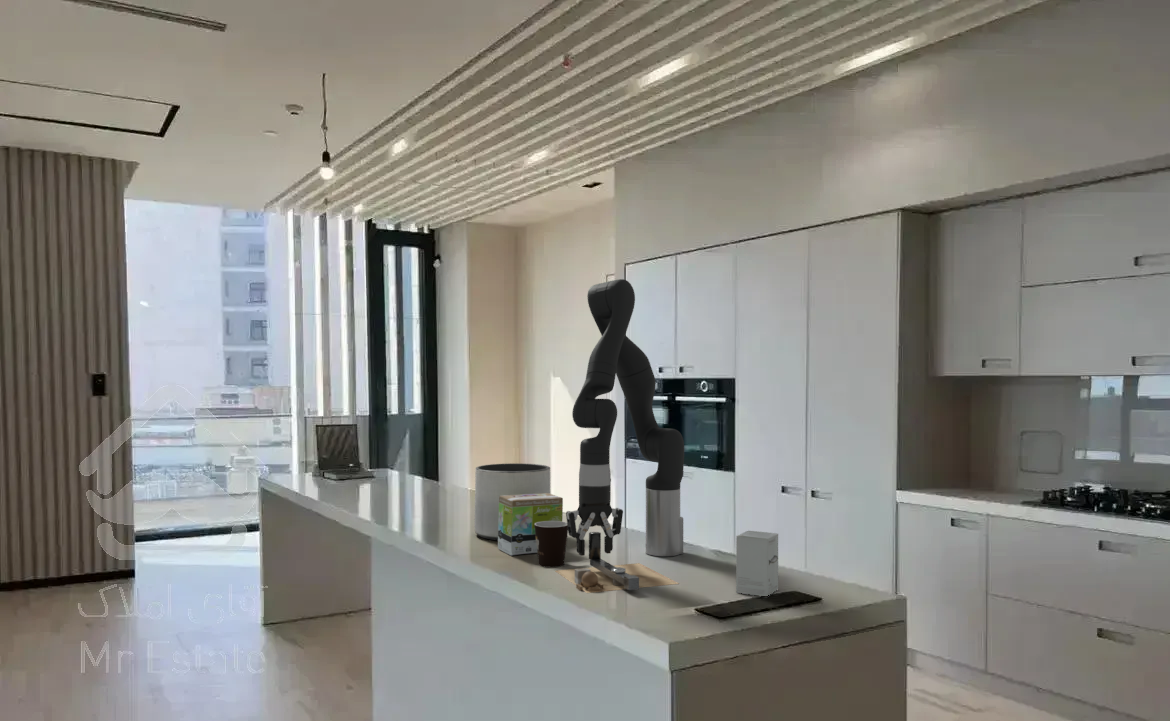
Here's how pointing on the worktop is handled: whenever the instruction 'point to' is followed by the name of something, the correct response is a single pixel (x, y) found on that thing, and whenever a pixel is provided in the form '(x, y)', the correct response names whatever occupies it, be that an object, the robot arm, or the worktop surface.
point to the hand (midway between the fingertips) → (594, 553)
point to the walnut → (589, 579)
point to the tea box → (525, 520)
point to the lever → (614, 572)
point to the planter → (504, 490)
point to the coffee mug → (551, 542)
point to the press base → (609, 584)
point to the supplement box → (756, 563)
